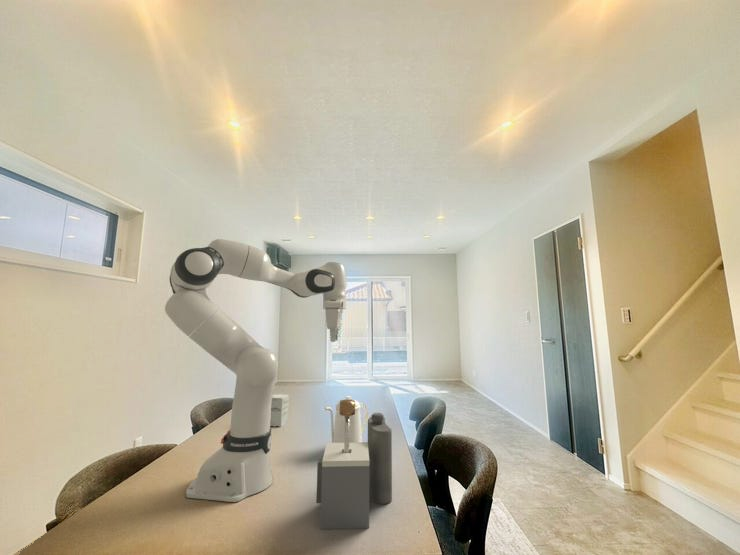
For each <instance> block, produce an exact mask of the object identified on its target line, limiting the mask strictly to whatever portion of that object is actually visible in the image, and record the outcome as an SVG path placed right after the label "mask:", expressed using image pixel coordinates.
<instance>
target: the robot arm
mask: <svg viewBox="0 0 740 555" xmlns="http://www.w3.org/2000/svg"><path fill="white" fill-rule="evenodd" d="M346 274H347V273H346V269H345V267H344V265H343V264H340V263H339V262H333V261H330V262H326V263H324V265H323V264H322V265H321V266H319V267H316V268H312V269H308V270H306V271H303V272H298V273H297V272H295V273H294V272H291V271H287V270H285V269H282V268H279V267H276V266H274V265H273V264H272V260H271V258H270V256H269V254H268V253H266V252H265V251H264V250H262V249H260V248H258V247H254V246H252V245H249V244H245V243H242V242H239V241H234V240H229V239H223V238H216V239H214V240H212V241H211V242H210V243H209V244H208V245H207V246H205V247H193V248H189V249H187V250H184V251H183V252H181V253H180V254H179V255H178V256H177V257H176V260H175V262H174V263H173V264H172V265H171V268H170V274H169V284H170V288H171V289H172V295H171V296H170V297H169V298H168V300H167V301H166V303H165V305H164V312H165V314H166V315H167V317H168V318H169V319H170V320H171V321H172V322H173V324H174V326H176V327H177V328H178V329H179V330H180V331H181V332H182V333H183V334H185V336H187V337H188V338H190V339H191V341H193V342H195V344H197V345H198V346H200V348H202V350H204V351H205V352H207V354H209V355H210V356H211V357H213V358H214V359H216V360H217V361H218V362H220V363H221V364H222V365H223V366H225V367H226V368H227V369H229V370H230V371H231V372H233V373H234V374H235V375H236V377H235V378H236V380H235V387H234V392H233V393H234V394H233V400H232V404H231V413H230V414H231V417H230V429H229V430H227V431H226V434H224V435H223V437H222V438H221V439H220V444H221V445H222V447H220V448H219V449H218V450H216V452H215V453H213V454H212V455H210V456H209V457H208V458H207V459H205V461H204V462H203V463H202V465H201V466H200V468H199V471H198V473H197V476H196V478H194V480H192V482H190V484H189V485H188V486H187V488H186V492H185V497H186V498H188V499H189V498H190V499H197V500H198V499H199V500H209V501H210V500H211V501H220V502H229V503H237V502H240V501H242V500H244V499H245V498H247V497H250V496H252V495H255V494H258V493H261V492H263V491H264V490H266V489H267V488H269V487H270V486H271V484H273V481H274V476H273V473H272V467H271V456H270V455H271V452H270V451H271V447H272V437H273V436H272V428H271V426H270V419H271V403H272V396H273V395H274V391H275V385H276V380H277V374H278V370H279V362H278V361H279V360H278V359H277V356H276V355H275V353H274V352H273V351H272V350H271V349H269V348H266V347H263V346H262V345H260V344H259V343H258V342H257V341H256V340H255V339H254V338H253V337H252V336H251V335H249V333H248V332H247V331H245V329H243V328H242V327H241V325H240V324H238V323H237V322H236V321H235V320H234V319H233V318H232V317H230V316H229V315H228V314H227V313H226V312H225V311H224V310H223V309H221V308H220V307H219V306H217V304H215V303H214V302H213V301H211V298H209V296H208V295H207V292H206V290H207V288H209V287H210V285H211V286H212V283H213V282H214V280H215V279H216V278H217V277H218V275H230V276H232V277H236V278H240V279H243V280H249V281H256V282H265V283H268V284H271V285H275V286H278V287H282V288H285V289H287V290H289V291H290V292H292V294H294V295H295V296H296V297H299V298H308V297H311V296H317V295H320V294H321V295H322V309H324V311H325V324H326V329H328V330H329V335H330V336H329V337H330V339H329V340H330V342H332V343H333V342H336V341H337V340H338V338H339V329H341V325H342V323H341V322H342V321H341V320H342V318H341V315H342V314H343V312H344V310H345V309H347V294H346V287H347V276H346Z"/></svg>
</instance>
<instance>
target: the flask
mask: <svg viewBox="0 0 740 555" xmlns="http://www.w3.org/2000/svg"><path fill="white" fill-rule="evenodd" d="M392 434H393V433H392V428H391V427H390V426H389V425H387V423H386V418H385V417H384V414H383V413H381V412H373V413H372V414H371V416H369V417H368V421H367V442H368V451H369V497H371V499H372V500H373V501H374V502H375V503H377V504H379V505H387V504H389V503H391V502H392V500H393V467H392V466H393V457H392V456H393V455H392V454H393V452H392V451H393V450H392V449H393V447H392V446H393V445H392V441H393V440H392V437H393V436H392Z"/></svg>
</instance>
